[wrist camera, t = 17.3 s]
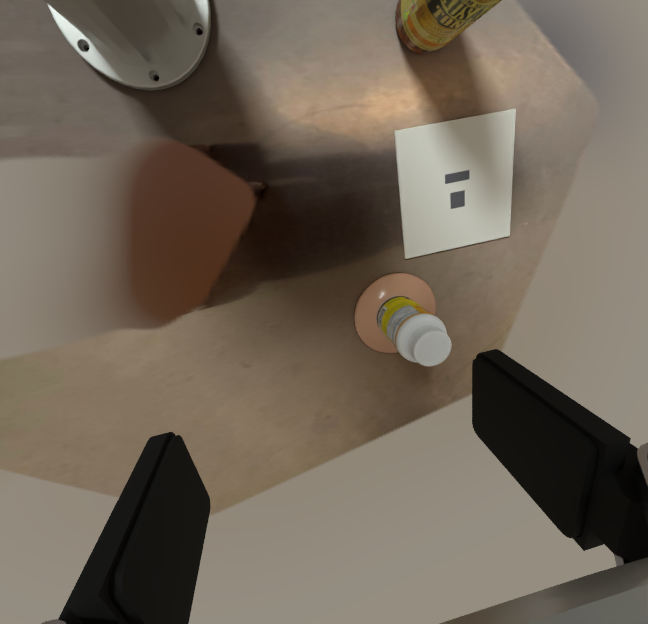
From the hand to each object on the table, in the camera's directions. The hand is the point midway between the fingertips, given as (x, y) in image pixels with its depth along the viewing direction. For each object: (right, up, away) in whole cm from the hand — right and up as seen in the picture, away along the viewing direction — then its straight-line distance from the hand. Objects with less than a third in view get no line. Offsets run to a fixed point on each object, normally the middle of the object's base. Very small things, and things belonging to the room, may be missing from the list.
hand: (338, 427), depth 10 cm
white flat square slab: (+15, +18, +26) cm, 35 cm away
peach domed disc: (+9, +3, +31) cm, 32 cm away
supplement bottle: (+9, +3, +30) cm, 32 cm away
